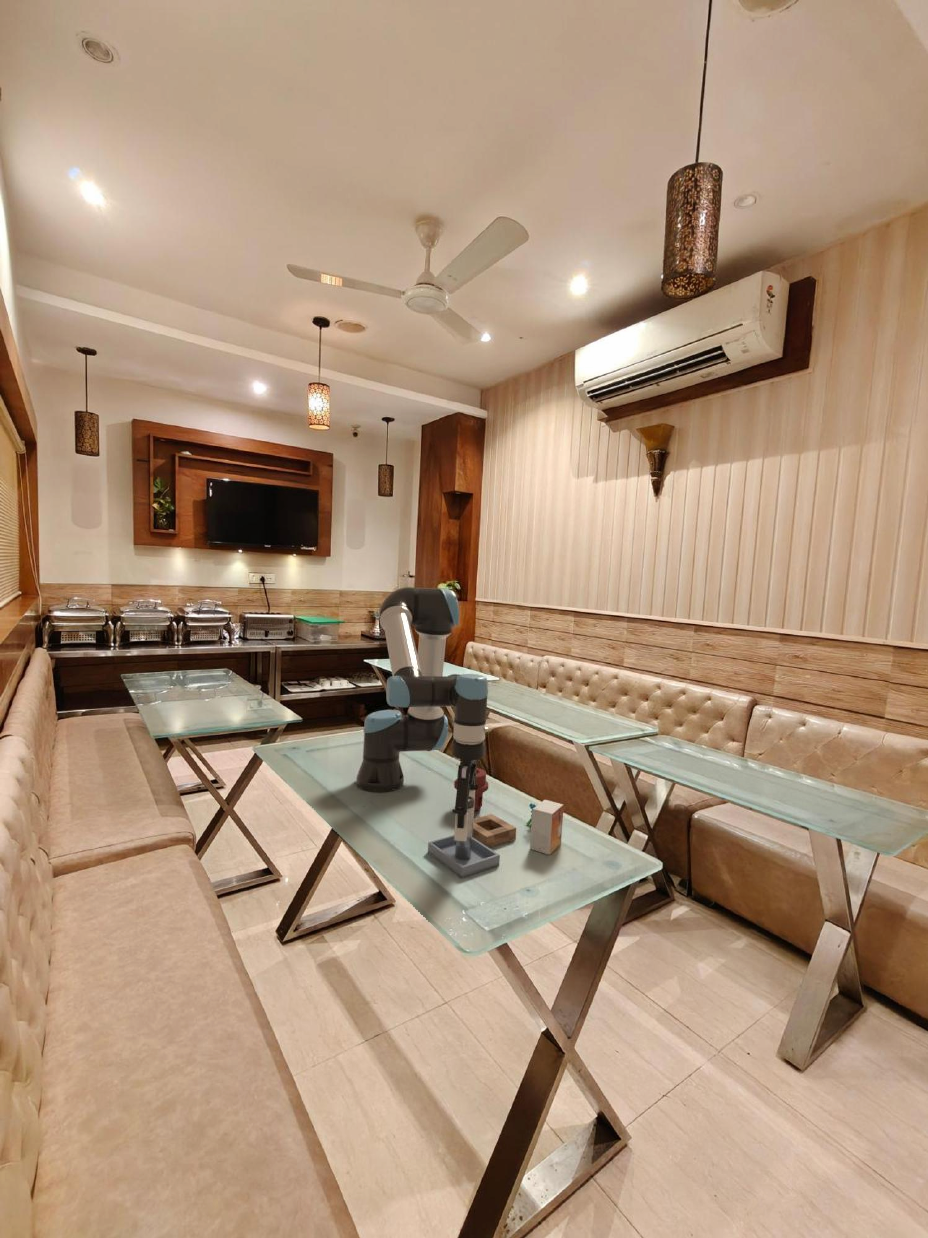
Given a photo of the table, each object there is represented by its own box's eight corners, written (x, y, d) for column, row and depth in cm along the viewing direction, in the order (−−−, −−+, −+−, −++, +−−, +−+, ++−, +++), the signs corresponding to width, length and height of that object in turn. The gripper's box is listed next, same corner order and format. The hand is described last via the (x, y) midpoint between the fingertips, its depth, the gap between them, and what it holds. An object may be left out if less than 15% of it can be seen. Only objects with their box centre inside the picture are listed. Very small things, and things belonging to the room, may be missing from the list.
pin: (451, 854, 132) (454, 798, 131) (464, 850, 134) (467, 794, 133) (461, 862, 128) (464, 804, 128) (474, 857, 131) (477, 800, 130)
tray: (427, 852, 134) (428, 842, 133) (463, 841, 140) (464, 831, 140) (461, 878, 122) (462, 867, 122) (499, 865, 129) (499, 855, 129)
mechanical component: (489, 805, 164) (484, 818, 154) (456, 801, 166) (449, 814, 156) (491, 765, 163) (486, 776, 154) (458, 761, 165) (451, 772, 156)
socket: (462, 833, 145) (462, 822, 145) (491, 824, 151) (491, 814, 151) (486, 848, 137) (486, 837, 137) (515, 839, 143) (516, 828, 143)
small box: (549, 856, 135) (552, 814, 134) (529, 849, 138) (531, 808, 137) (561, 843, 142) (564, 804, 141) (542, 837, 145) (544, 798, 144)
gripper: (478, 757, 117) (473, 854, 118) (489, 728, 141) (485, 808, 143) (444, 754, 118) (439, 850, 119) (461, 725, 142) (457, 805, 144)
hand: (464, 827), depth 131 cm, fingers open, 13 cm apart
